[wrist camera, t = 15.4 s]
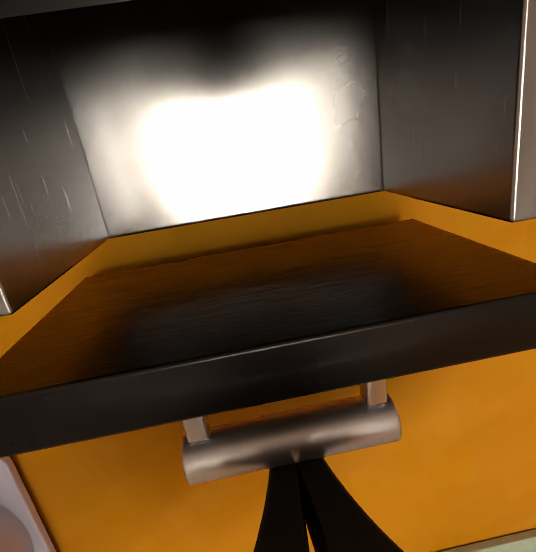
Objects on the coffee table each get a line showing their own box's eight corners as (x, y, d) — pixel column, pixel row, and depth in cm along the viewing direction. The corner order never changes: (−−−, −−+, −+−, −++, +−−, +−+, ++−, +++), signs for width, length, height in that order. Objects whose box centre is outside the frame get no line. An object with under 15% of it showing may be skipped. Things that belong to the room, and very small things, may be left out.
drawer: (416, 351, 15) (561, 501, 9) (129, 409, 14) (54, 619, 8) (400, -278, 9) (808, -1252, 3) (-85, -230, 9) (-1005, -1375, 2)
